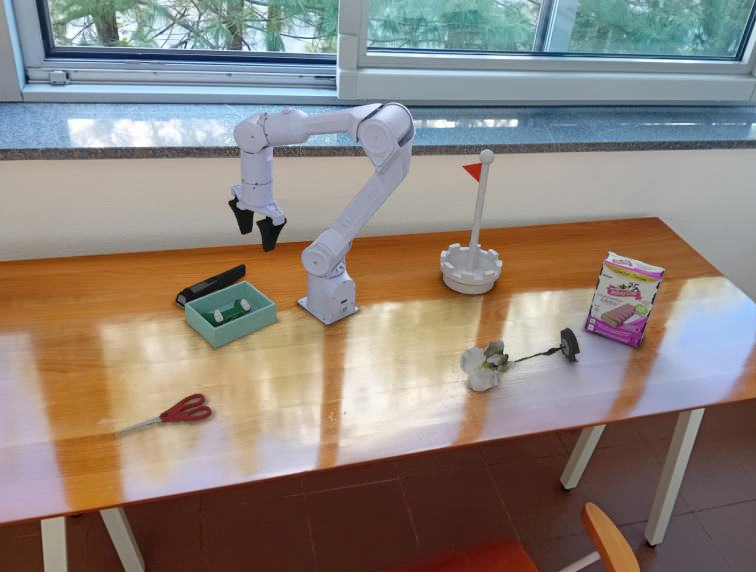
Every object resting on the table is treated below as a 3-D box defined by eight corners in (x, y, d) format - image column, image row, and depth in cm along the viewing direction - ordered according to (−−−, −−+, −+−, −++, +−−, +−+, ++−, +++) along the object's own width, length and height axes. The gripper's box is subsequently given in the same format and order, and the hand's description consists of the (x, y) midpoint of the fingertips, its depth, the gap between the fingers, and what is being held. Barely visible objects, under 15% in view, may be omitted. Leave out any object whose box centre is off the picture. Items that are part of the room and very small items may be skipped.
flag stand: (509, 277, 159) (533, 150, 143) (480, 304, 149) (502, 170, 133) (457, 256, 164) (475, 131, 148) (426, 281, 155) (441, 149, 139)
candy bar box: (583, 331, 145) (601, 261, 136) (589, 318, 149) (607, 249, 140) (639, 350, 141) (661, 279, 133) (644, 336, 145) (666, 267, 137)
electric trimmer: (251, 280, 149) (250, 267, 147) (186, 310, 138) (185, 296, 136) (238, 272, 151) (238, 259, 149) (174, 302, 140) (173, 288, 138)
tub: (276, 321, 138) (276, 304, 136) (215, 348, 130) (213, 330, 128) (246, 297, 144) (245, 280, 142) (186, 321, 135) (184, 303, 133)
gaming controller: (203, 335, 134) (214, 329, 130) (194, 317, 134) (205, 309, 130) (246, 317, 140) (258, 310, 136) (238, 299, 140) (250, 291, 136)
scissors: (213, 416, 116) (212, 411, 115) (121, 446, 109) (120, 442, 108) (201, 395, 119) (201, 390, 119) (112, 423, 112) (111, 418, 112)
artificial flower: (582, 378, 134) (595, 348, 127) (467, 405, 129) (473, 375, 122) (563, 339, 140) (574, 308, 132) (451, 364, 135) (457, 332, 127)
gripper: (216, 168, 136) (218, 231, 143) (261, 199, 128) (261, 264, 135) (248, 160, 140) (249, 221, 148) (294, 189, 133) (293, 253, 140)
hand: (257, 241), depth 142 cm, fingers open, 7 cm apart
